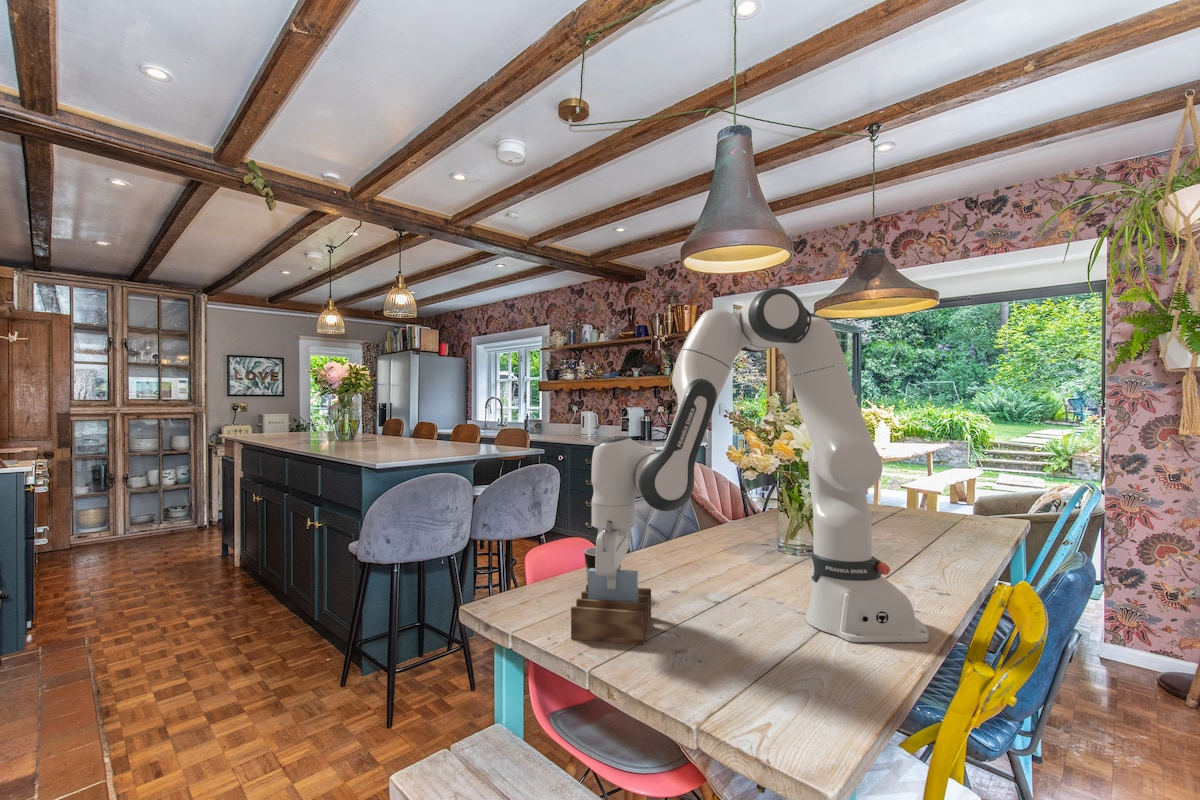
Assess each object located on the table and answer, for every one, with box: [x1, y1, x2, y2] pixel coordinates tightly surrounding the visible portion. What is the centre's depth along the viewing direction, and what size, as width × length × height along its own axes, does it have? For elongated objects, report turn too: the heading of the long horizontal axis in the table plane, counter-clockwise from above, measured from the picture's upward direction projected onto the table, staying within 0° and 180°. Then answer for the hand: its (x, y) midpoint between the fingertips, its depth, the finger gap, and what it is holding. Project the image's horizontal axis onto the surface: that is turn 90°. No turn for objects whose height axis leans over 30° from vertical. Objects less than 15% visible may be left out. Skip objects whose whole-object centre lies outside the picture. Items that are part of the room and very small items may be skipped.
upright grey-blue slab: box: [587, 568, 639, 603], centre depth 112 cm, size 10×2×9 cm, turn 79°
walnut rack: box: [570, 583, 652, 646], centre depth 112 cm, size 14×14×6 cm
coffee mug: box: [583, 546, 596, 582], centre depth 134 cm, size 12×9×10 cm
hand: (613, 585), depth 112 cm, fingers closed on upright grey-blue slab, 2 cm apart
